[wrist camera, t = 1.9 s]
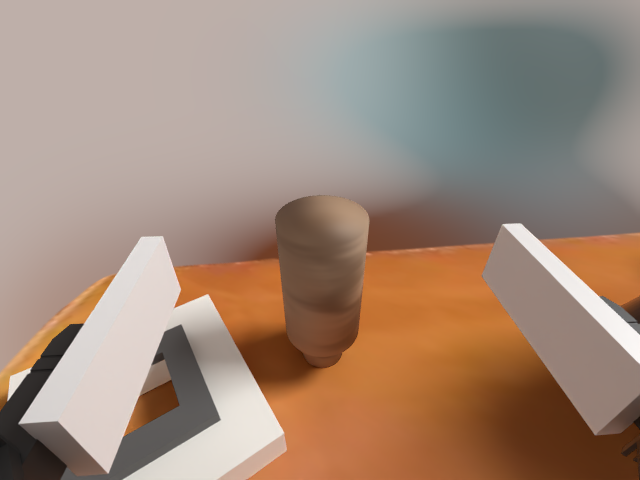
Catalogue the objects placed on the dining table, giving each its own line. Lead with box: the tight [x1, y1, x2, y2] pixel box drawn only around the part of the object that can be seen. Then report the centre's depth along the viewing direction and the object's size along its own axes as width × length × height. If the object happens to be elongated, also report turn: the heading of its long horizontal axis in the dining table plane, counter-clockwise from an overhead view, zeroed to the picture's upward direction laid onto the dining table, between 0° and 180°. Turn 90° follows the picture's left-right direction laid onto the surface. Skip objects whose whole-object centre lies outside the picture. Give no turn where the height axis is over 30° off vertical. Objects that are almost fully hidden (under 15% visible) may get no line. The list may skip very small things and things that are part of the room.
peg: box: [275, 195, 369, 368], centre depth 28 cm, size 7×7×16 cm
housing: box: [8, 294, 287, 480], centre depth 26 cm, size 17×17×4 cm
